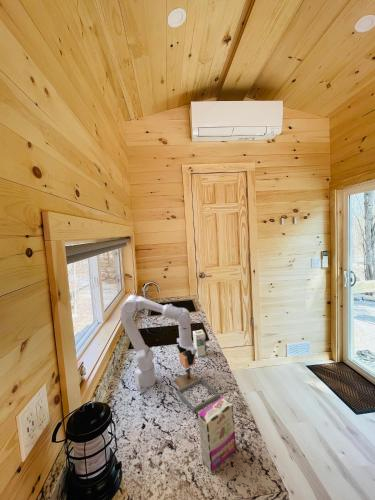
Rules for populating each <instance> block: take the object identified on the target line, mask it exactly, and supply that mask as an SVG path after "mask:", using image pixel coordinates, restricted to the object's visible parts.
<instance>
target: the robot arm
mask: <svg viewBox="0 0 375 500" xmlns="http://www.w3.org/2000/svg"><path fill="white" fill-rule="evenodd" d="M144 309H147V310H151V311H153V312H157V313H161V315H162V316H163V317H165V318H167V319H171V320H174V321H177V322H178V336H179V337H177V338H176V343H177V345H176V348H177V349H178V352H179V353H182V352H184V351H186V352H185V354H186V356H187V360H188V364H189V365H192V364H193V361H194V356H195V357H196V352H197V350H196V348H195V347H194V340H192V338H193V337H192V327H191V315H190V311H189V310H188V308H185V307H177V306H175V305H173V304H172V303H169V304H168V303H167V304H164V305H162V304H160V303H157V302H155V301H153V300H150V299H147V298H146V297H144V296H141V295H137V294H131V295H129V296H128V297H127V299H126V300H125V301H124V302H123V304H122V305H121V307H120V319H119V320H120V322H121V324H122V326H123V328H124V330H125V332H126V335H127V336H128V339H129V340H130V343H131V345H132V347H133V348H134V351H135V356H136V360H137V369H136V370H134V372H133V373H134V374H133V375H134V383H135V384H134V385H135V387H136V388H137V390H138V392H139V393H140V394H143V393H145V392H147V389H146V388H150V387H152V386H154V385H155V384H156V381H157V380H156V369H155V363H154V361H153V359H154V354H155V353H154V352H153V350H152V349H150V348H149V346H148V345H147V344H145V341H144V338H143V337H142V335H141V333H140V331H139V328H138V326H137V324H136V322H135V319H134V318H133V316H134V313H135V312H136V311H138V312H139V311H142V310H144ZM187 350H188V351H187Z"/></svg>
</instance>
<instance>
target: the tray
mask: <svg viewBox="0 0 375 500" xmlns="http://www.w3.org/2000/svg"><path fill="white" fill-rule="evenodd" d="M197 379H198V380H196V381H194V382H192V383H190V384H188V385H186V386H184V387H182V388H178V389H177V390H176V391H175V393H176V395H177V396H178V397H179V399H181V400H182V401H183V402H184V404H185V405H186V406H187V407H188V409H190V411H191V412H192V413H195V412H198V411H199V410H200V409H203V408H205V407H206V406H207V405H209V404H211V403H214V402H215V401H217V400H219V399H220V398H221V395H220V393H219V392H218V391H216V390H215V389H214V388H213V387H212V386H211V385H210V384H208V382H206V381H205V379H203V378H202V377H201V378H197ZM200 383H201V384H202V385H203V386H204V387H205V388H207V390H209V391H210V392H211V393H212V394H213V396H211V397H210V398H208V399H206V400H204V401H202V402H201V403H199V404H197V405H195V406H193V405H192V404H191V403H190V401H189V400H188V399H187V398H186V397H185V396H184V394H182V392H185V391H186V390H189V389H190V388H192V387H195V386H197V385H198V384H200Z"/></svg>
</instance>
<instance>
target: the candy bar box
mask: <svg viewBox="0 0 375 500" xmlns="http://www.w3.org/2000/svg"><path fill="white" fill-rule="evenodd" d="M197 418H198V419H197V420H198V428H199V438H200V439H199V440H200V449H201V450H200V451H201V460H202V462H203V463H204V464H205V466H206V467H207V468H208V469H209V471H210V472H213V471H214V470H215V469H216V468H217V467H219V466H220V465H221V464H222V463H223V462H224V461H225V460H226V459H228V457H230V456H231V455H232V454H233V453H234V452H235V451H236V450H237V445H236V443H237V442H236V432H235V431H236V430H235V421H234V420H235V419H234V418H235V417H234V409H233V403H232V402H230V401H229V400H227V399H226V398H225V397H223V396H222V397H220V398H218V399H216V400H215V401H214V402H212V404H210V405H209V406H207V407H206V408H204V409H203V410H201V411H200V412H199V413H197Z"/></svg>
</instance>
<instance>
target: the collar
mask: <svg viewBox="0 0 375 500" xmlns="http://www.w3.org/2000/svg"><path fill="white" fill-rule="evenodd" d="M187 351H188V349H187ZM185 352H186V351H184V352H182V353H180V352H179V354H178V358H179V364H180V365H181V366H182V367H183V368H184V369H189V368H191V367H194V366H195V365H196V355H195V356H194V361H193V364H192V365H189V364H188V360H187V356H186V354H185Z"/></svg>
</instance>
